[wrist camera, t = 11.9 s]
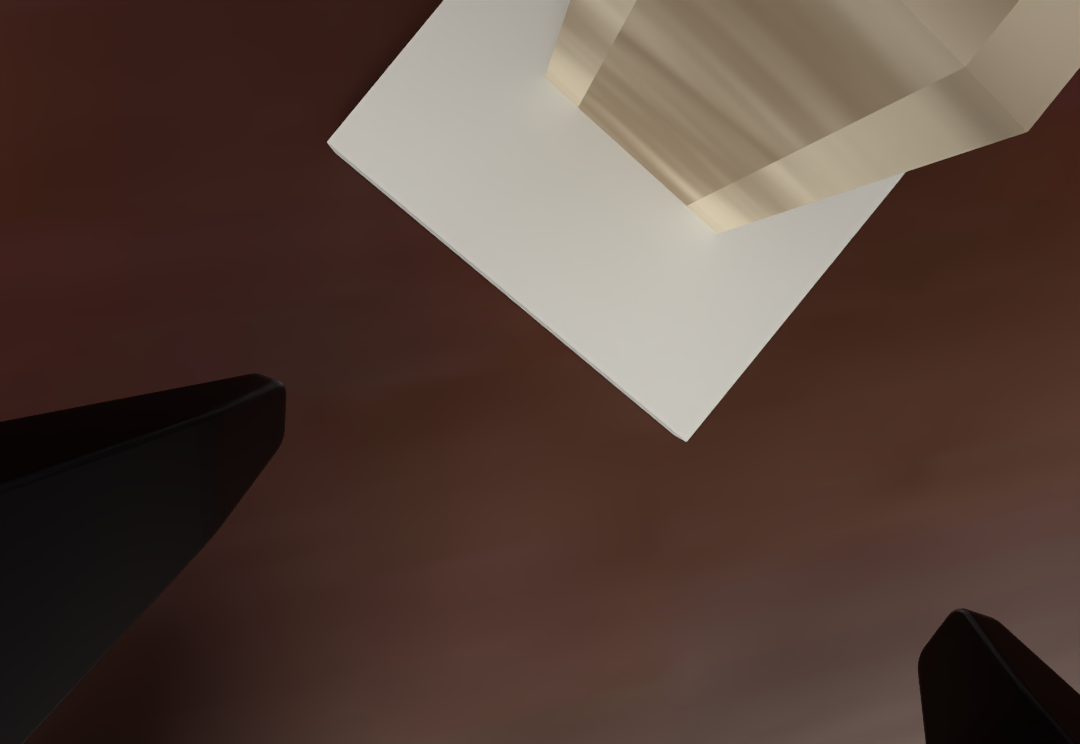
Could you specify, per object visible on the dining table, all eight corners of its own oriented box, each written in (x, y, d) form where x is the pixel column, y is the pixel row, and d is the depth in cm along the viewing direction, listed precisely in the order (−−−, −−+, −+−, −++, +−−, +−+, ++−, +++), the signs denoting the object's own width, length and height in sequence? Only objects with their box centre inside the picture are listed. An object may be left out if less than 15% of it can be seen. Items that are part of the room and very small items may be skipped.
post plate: (674, 434, 21) (740, 472, 16) (335, 152, 19) (288, 93, 14) (1009, 22, 22) (1180, -70, 16) (708, -301, 20) (796, -522, 14)
